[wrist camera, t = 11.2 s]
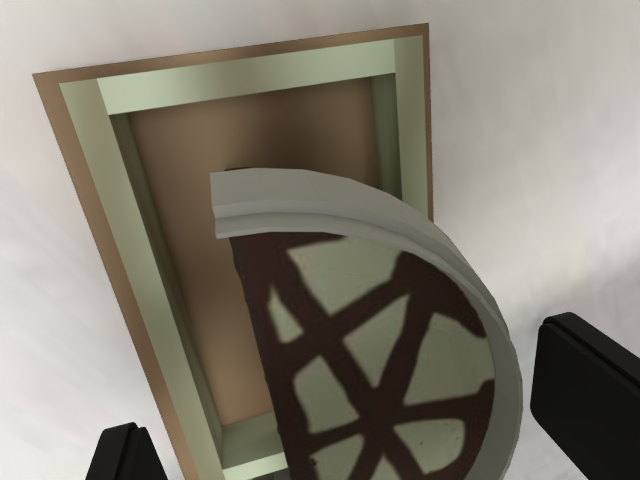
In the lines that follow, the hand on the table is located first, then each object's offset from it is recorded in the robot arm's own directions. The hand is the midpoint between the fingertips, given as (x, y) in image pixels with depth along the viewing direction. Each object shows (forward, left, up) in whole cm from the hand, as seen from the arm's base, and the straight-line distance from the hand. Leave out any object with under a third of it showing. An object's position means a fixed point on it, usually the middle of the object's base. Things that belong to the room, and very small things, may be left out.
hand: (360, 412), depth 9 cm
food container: (-1, 0, -9) cm, 9 cm away
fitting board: (0, +6, -10) cm, 12 cm away
